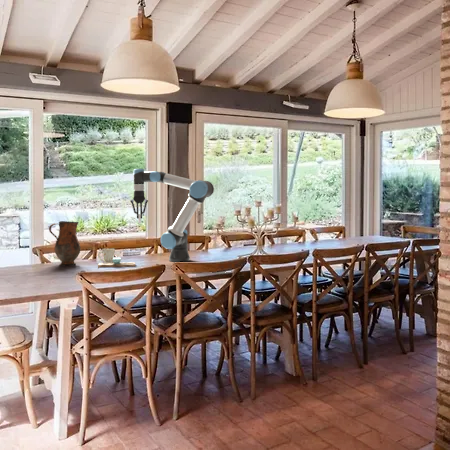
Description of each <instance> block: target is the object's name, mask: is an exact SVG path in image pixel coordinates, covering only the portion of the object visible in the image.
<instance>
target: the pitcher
mask: <svg viewBox="0 0 450 450" xmlns="http://www.w3.org/2000/svg"><path fill="white" fill-rule="evenodd" d="M78 224H79V222H78V221H66V220H64V221H63V220H61V221H58V227H59V228H58V229H59V231H58V235H56V234H55V233H53V232H52V228H53V226H55V225H56V223H51V224H50V226H49V227H48V231H49V233H50V234H51V235H52V236H53V237H55V239H56V241H55V243H54V254H55V255H56V257H57V259H58V260H60V261H61V263H59V266H60V267H71V266H76V265H77V263H76V262H75V260H76V259H78V257H79V255H80V253H81V244H80V241H79V239H78V235H77V228H78Z"/></svg>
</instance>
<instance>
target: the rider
mask: <svg viewBox="0 0 450 450" xmlns="http://www.w3.org/2000/svg"><path fill="white" fill-rule="evenodd" d="M112 263H114V264H120V263H122V258H121V257H114V258H113V262H112Z"/></svg>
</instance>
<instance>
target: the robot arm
mask: <svg viewBox="0 0 450 450" xmlns="http://www.w3.org/2000/svg"><path fill="white" fill-rule="evenodd" d="M132 175H133V199H130V203H131V206H132V209H133V213H134V214H135V215H136V219H138V224H141V223H142V222H141V221H142V220H141V219H143V214H145V213H146V209H147V204H148V202H149V200H148V199H146V197H145V183H161V184H165V185H169V186H173V187H177V188H179V189H185V190H188V191H189V192H188V194H187V196H188V198H187V200H186V201H185V204H184V205H183V207H182V209H181V210H180V212H179V214H178V216H177V217H176V219H175V221H174V222H173V224H172V225H171V226H168V228H167V230H166V231H165V232H164V233H163V234H161V237H160V244H161V246H162V247H163V248H165V249H167V250H171V251H170V254H169V257H168V260H169V262H174V263H181V262H180V261H183V263H185V262H189V261H191V258H190V253H189V251H188V230H187V229H186V228H187V226H188V225H189V223H190V221H191V219H192V217H193V216H194V214H195V213H196V211H197V209H198V207H199V206H200V204H201V205H202V204H203V203H204V201H205V199H207V198H209V197H211V196H212V195H214V194H213V193H214V191H215V186H214V185H213V183H212V182H211V181H209V180H201V179H198V180H195V179H190V178H186V177H182V176H178V175H175V174H171V173H167V172H164V171H157V170H155V171H154V170H153V171H152V170H151V171H150V170H149V171H145V169H144V168H134V169H133V174H132ZM134 202H135V203H136V208H135V203H134ZM143 203H144V206H143ZM139 207H140V212H139Z"/></svg>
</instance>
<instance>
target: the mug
mask: <svg viewBox="0 0 450 450" xmlns="http://www.w3.org/2000/svg"><path fill="white" fill-rule="evenodd" d="M115 250H116V249H115V248H102V251H101V250H100V251H99V252H98V253H97V258H98V260H100V261H101V262H103V263H114V262H113V258H115ZM101 254H102V256H103V257H102V258H101V257H100V255H101Z"/></svg>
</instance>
